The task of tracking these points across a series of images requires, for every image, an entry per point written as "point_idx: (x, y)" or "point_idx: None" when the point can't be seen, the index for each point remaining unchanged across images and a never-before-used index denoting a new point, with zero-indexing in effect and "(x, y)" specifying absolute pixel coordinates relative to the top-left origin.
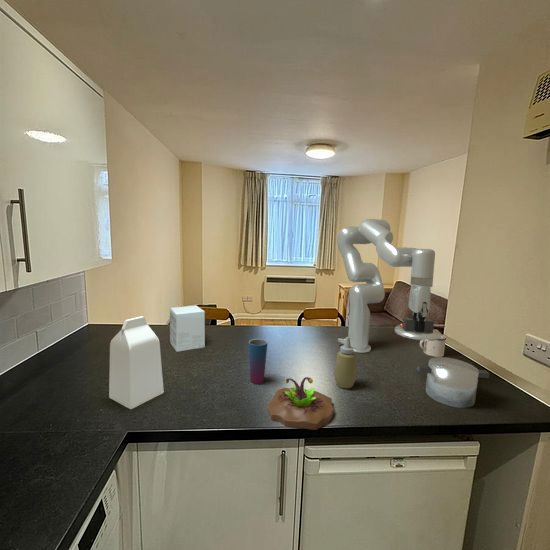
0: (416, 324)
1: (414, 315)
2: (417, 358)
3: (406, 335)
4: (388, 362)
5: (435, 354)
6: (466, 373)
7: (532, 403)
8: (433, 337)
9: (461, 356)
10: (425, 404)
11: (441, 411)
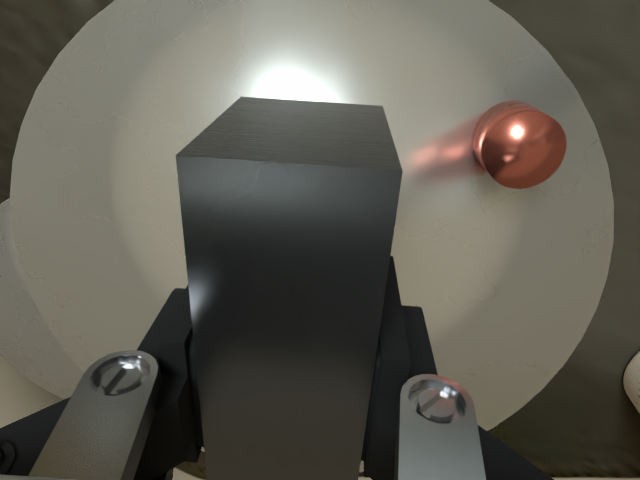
0: (183, 306)
1: (394, 435)
2: (625, 259)
3: (66, 54)
4: (586, 32)
5: (636, 369)
6: (13, 336)
7: (201, 458)
8: (66, 351)
9: (615, 465)
10: (45, 72)
11: (10, 126)
